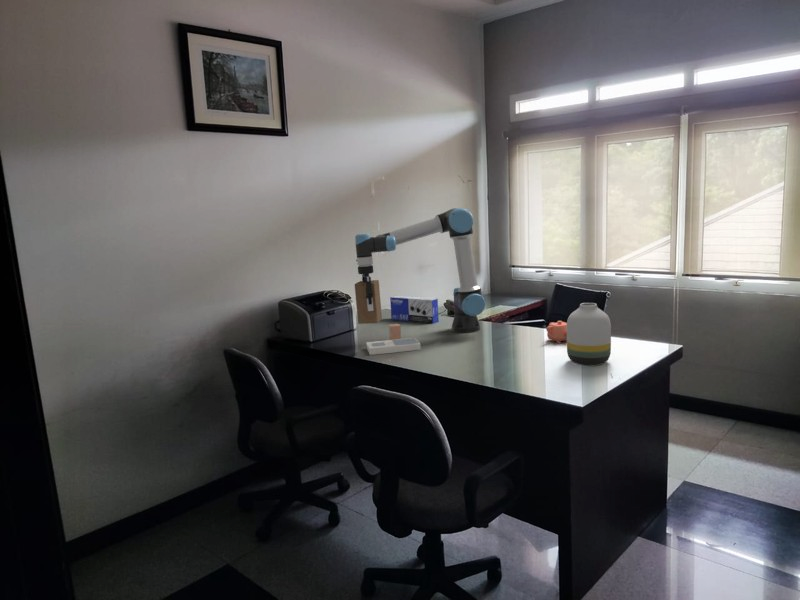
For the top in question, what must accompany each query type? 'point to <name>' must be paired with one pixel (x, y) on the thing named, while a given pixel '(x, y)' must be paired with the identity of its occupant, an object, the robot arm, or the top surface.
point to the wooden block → (361, 303)
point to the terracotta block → (394, 331)
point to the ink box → (414, 309)
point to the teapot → (557, 331)
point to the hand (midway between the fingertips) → (369, 308)
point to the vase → (588, 335)
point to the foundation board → (392, 346)
